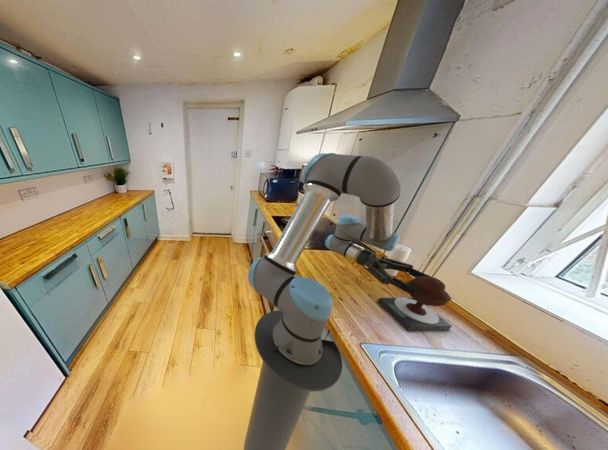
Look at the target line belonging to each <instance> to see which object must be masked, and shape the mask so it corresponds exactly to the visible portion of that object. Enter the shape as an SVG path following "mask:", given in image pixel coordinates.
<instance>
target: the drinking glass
mask: <svg viewBox="0 0 608 450" xmlns="http://www.w3.org/2000/svg"><path fill="white" fill-rule="evenodd" d="M411 253H412V249H411V248H410V247H409V246H406V245H403V244H400V243H398V244H397V246H396V247H395V248H394V250H392V251H388V254H387V257H386V258H389V259H393V260H396V261H400V262H403V263H406V261H407V260H408V258H409V256H410V255H411ZM385 271H386V272H387V273H388V274H389V275H390V276H391V277H397V275H398V273H399V272H400V271H398V270H393V269H385Z"/></svg>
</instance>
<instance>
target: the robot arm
mask: <svg viewBox="0 0 608 450" xmlns="http://www.w3.org/2000/svg"><path fill="white" fill-rule="evenodd" d="M302 173H303V174H302V177H301V180H302V183H303V186H302V188H303V191H304V193H303V195H302V197H301V199H300V200H299V202H298V203H297V205H296V207H295V209H294V211H293V212H292V215H291V217H290V218H289V219H288V222H287V224H286V225H285V227H284V229H283V231H282V233H281V235H280V236H279V238H278V240H277V241H276V244H275V245H274V247H273V249H272V250H271V252H266V253H265V254H264V256H260V257H257V258H255V260H254V261H253V262H252V264H251V265H250V267H249V269H248V273H247V280H248V284H249V285H250V287H251V288H252V289H254V290H255V291H256V293H257V294H258V295H259V294H260V296H262V297H263V298H264V299H265V300H267V301H268V302H269V303H270V304H272V305H273V306H274V307H275V308H276V309H277V310H280V311H282V312H283V316H282V318H281V319H280V321H278V322H277V323H276V325H275V326H274V328H273V332H272V341H273V344H274V346H275V348H274V349H273V351H274V352H275V351H276V350H277V351H278V352H279V353H280V354H281V355H282V356H283V357H284V358H285V359H286V360H288V361H289V362H291V363H293V364H295V365H298V366H303V367H310V366H313V365H315V364H317V363H318V362H319V360H320V358H321V355H322V340H323V339H322V335H323V332H324V330H325V327H326V325H327V323H328V320H329V319H330V317H331V313H332V308H333V303H334V302H333V298H332V296H331V295H332V294H331V293H330V291H329V290H328V289H327V288H326V287H325V286H324V285H323V284H322V283H320V282H319V281H317V280H315V279H314V278H311V277H306V276H296V277H295V275H296V274H297V272H298V270H297V267H296V264H297V262H298V260H299V259H300V257H301V255H302V253H303V251H304V250H305V248H306V246H307V244H308V243H309V241H310V239H311V237H312V236H313V234H314V232H315V231H316V229H317V227H318V225H319V224H320V222H321V220H322V218H323V217H324V215H325V213H326V211H327V210H328V208H329V206H330V204H331V203H332V202H336V201H338V200H339V199H340V197H341V196H342V194H345V195H349V196H350V195H351V196H354V197H358V198H359V201H360V202H361V204H362V205H363V206H364V214H365V223H361V222H360V221H361V220H360V219H361V218H360V217H359V216H356V215H354V214H350V213H345V214H341V215H340V217H339V219H338V222H336V227H335V230H334V234H329V235H328V236H327V238H326V239H325V242H324V245H325V247H326V248H327V249H328V250H330V251H332V252H334V253H336V254H338V255H340V256H342V257H344V258H346V259H348V260H350V262H354V263H355V264H357V265H359V266H360V267H362V268H363V269H364V270H365V271H367V272H368V273H369V274H370V275H372V277H374V278H375V279H377V281H378V282H379V283H381V284H383V285H386V286H389V285H392V286H394V287H395V288H398V289H400V290H401V291H403V292H405V293H407V294H408V295H410V294H411V295H413V294H414V292H415V291H416V289H417V288H415V287H413V286H411V285H409V284H407V282H404V281H403V280H400V279H398V278H397V277H396V276H390V275H389V274H388V273H387V272H386V271H385V269H393V270H398V271H399V272H401V273H407V274H408V275H409V276H412V277H413V278H416V277H418V276H426V277H432V275H429V274H427V273H424V272H422V271H420V270H417V269H415V268H414V265H413V264H411V263H407V262H405V263H403V262H400V261H396V260H393V259H389V258H387V257H386V256H383V255H381V257H377V254H376V252H374V251H372V250H370V249H367V248H365V247H364V246H360V245H358V244H356V243H353V242H352V241H353V240H356V241H359V242H362V243H364V244H366V245H370V246H373V247H374V248H375V247H376V248H377V249H379V250H384V251H387V252H389V251H392V250H394V248H395V247H396V246H397V244H399V242H400V240H401V236H400V234H397V233H395V232H393V227H394V226H393V224H394V214H395V203H397V202H398V200H399V199H400V196H401V190H402V189H401V183H400V179H399V178H398V176H397V175H396V172H394V170H393V169H392V168H391V167H390V166H389V165H388V164H386V163H385V162H384V161H383V160H380V159H379V158H377V157H372V156H368V155H354V154H353V155H352V154H342V153H341V154H340V153H335V152H328V153H326V152H325V153H324V152H323V153H319V154H316V155H314V156H313V157H312V158H310V160H308V162H307V164H306V165H305V167H304V168H303V172H302ZM411 295H410V296H411Z"/></svg>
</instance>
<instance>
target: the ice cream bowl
mask: <svg viewBox="0 0 608 450" xmlns="http://www.w3.org/2000/svg"><path fill="white" fill-rule="evenodd" d="M406 283H407V284H409V285H411V286H413V287H415V288H417V289H416V291H415V292H414V294H413V295H411V294H409V295H410V298H414V299H415V300H416V301H417V302H416V304H413V303H409V304H407V305H406V306H407V308H408V309H409V310H410V311H412V312H413V313H416V314H418V315H423V316H425V315H426V314H427V313H426V311H425V309H423V308H422V306H423V304H424V305H425V306H430V307H442V306H444V305H446V304H447V303H449V302H450V301H451V300H452V297H451V295H450V294H449V293H448V292H447V291H446V284H445V283H444V282H443V281H441V280H440V279H438V278H437V277H434V276H431V277H426V276H418V277H416V278H415V277H413V278H412V279H410V280H409V281H407V282H406Z"/></svg>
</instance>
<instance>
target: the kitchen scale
mask: <svg viewBox="0 0 608 450" xmlns="http://www.w3.org/2000/svg"><path fill="white" fill-rule="evenodd" d="M416 302H417V301H416V300H415V299H414V298H412V297H379V298H378V300H377V304H379V305H380V307H382V308H383V309H384V310H385V311H386V312H387V313H388V314H389V315H390V316H392V318H394V320H395V321H396V322H398V324H400V326H401V327H403V328H404V329H405V330H406V331H407V332H415V331H416V332H417V331H419V332H425V331H426V332H427V331H428V332H429V331H433V332H435V331H449V330H450V329H451V328H452V325H451V324H450V323H449V322H448V321H446V319H444V318H442V317H441V316H440V315H439V314H437V313H436V312H435V311H434V310H433V309H431V308H430V307H428V305H424V304H423V306H422V308H423V309H425V311H426V313H427V314H426V315H425V316H423V315H418V314H416V313H413V312H412V311H410V310H409V309H408V308H407V306H406V305H407V304H409V303H413V304H416Z"/></svg>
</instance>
